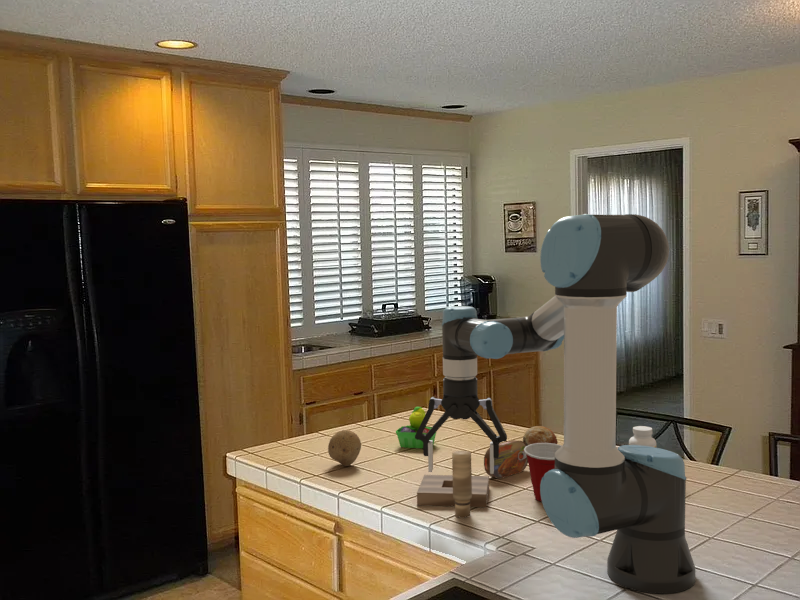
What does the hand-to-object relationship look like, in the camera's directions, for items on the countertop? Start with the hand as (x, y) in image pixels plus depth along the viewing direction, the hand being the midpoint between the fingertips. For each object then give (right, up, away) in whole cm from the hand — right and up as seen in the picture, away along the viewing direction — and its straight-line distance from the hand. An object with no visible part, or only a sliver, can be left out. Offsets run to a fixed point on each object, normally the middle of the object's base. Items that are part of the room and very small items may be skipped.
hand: (461, 471), depth 175 cm
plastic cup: (+21, -9, +10) cm, 25 cm away
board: (-1, -9, +13) cm, 16 cm away
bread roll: (+28, -5, +56) cm, 63 cm away
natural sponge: (-29, -8, +41) cm, 51 cm away
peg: (0, -10, 0) cm, 10 cm away
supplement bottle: (+48, -7, +24) cm, 54 cm away
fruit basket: (-8, -6, +61) cm, 62 cm away
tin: (+14, -8, +30) cm, 34 cm away
